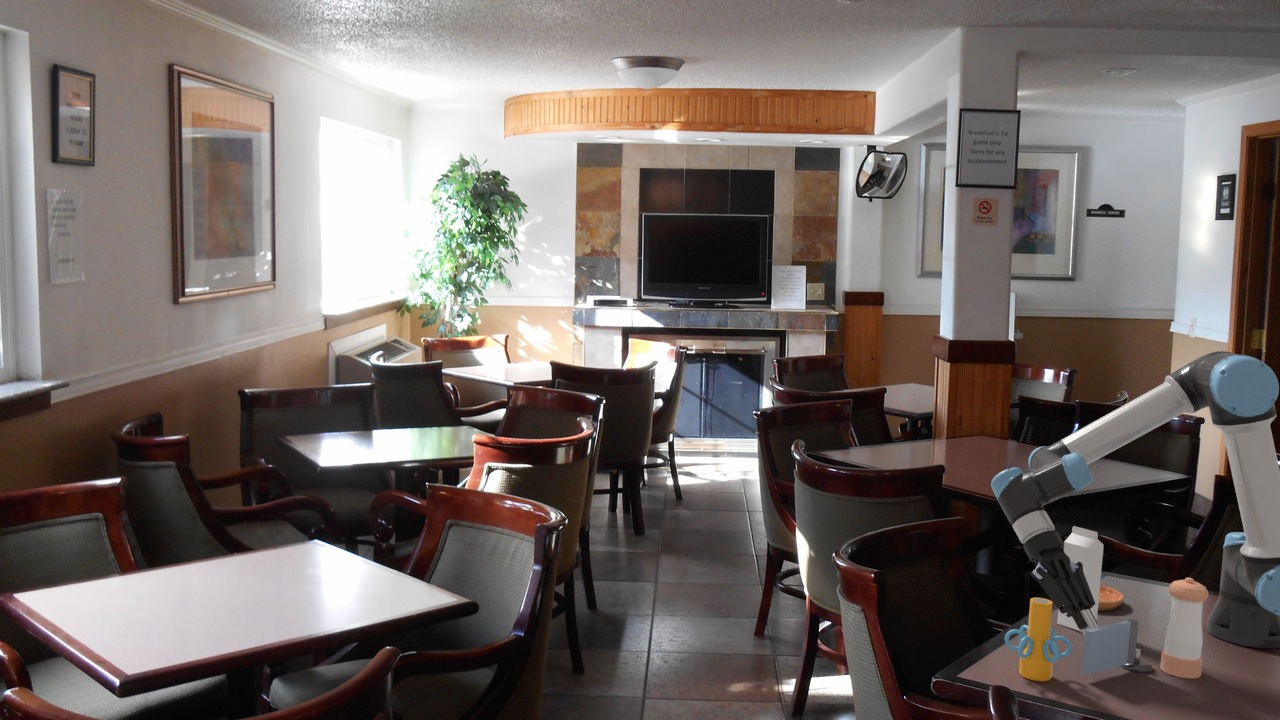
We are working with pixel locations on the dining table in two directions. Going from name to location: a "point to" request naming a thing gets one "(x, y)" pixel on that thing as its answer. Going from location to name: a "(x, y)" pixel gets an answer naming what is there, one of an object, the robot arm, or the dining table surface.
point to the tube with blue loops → (1038, 642)
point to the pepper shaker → (1184, 630)
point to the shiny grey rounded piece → (1138, 664)
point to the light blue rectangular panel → (1109, 646)
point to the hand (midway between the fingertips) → (1097, 642)
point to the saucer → (1109, 598)
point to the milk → (1084, 566)
